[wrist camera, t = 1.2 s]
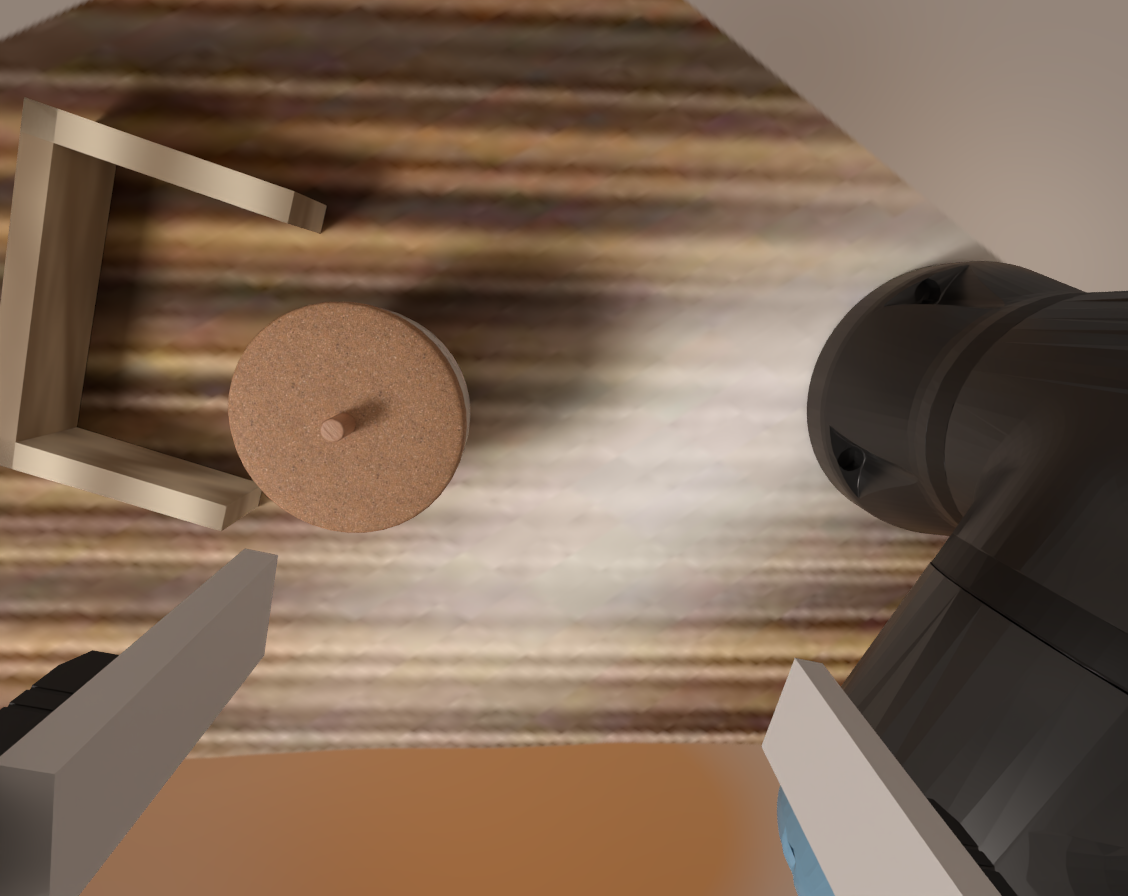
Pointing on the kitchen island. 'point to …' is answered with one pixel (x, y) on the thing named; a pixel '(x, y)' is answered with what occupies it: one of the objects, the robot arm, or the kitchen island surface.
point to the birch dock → (67, 302)
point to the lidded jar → (349, 415)
